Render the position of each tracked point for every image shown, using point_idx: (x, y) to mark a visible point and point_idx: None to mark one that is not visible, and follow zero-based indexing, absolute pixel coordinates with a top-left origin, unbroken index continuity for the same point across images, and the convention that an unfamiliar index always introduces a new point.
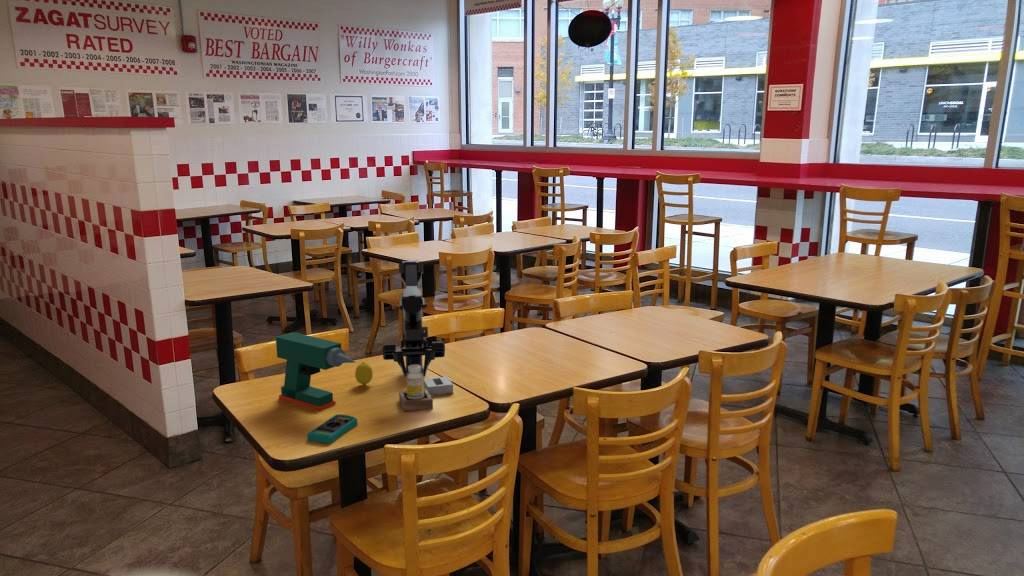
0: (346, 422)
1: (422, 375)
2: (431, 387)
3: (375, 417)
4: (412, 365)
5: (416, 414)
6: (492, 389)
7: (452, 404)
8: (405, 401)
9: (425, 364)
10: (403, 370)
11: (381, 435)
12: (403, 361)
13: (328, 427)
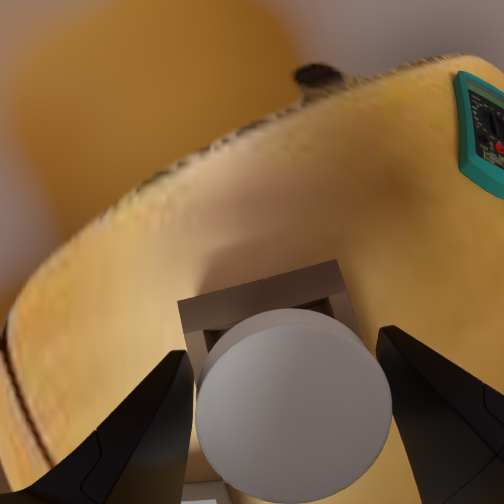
0: (477, 130)
1: (204, 365)
2: (196, 499)
3: (430, 224)
4: (331, 461)
5: (267, 248)
6: (4, 464)
7: (108, 358)
8: (332, 277)
9: (127, 428)
10: (427, 351)
11: (358, 94)
12: (485, 426)
13: (494, 111)
